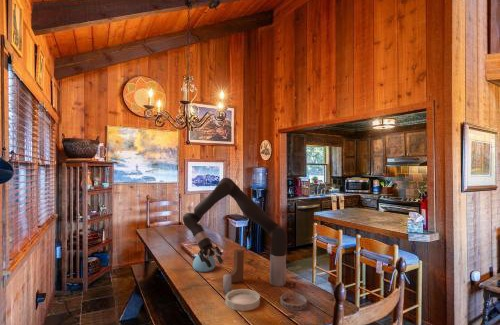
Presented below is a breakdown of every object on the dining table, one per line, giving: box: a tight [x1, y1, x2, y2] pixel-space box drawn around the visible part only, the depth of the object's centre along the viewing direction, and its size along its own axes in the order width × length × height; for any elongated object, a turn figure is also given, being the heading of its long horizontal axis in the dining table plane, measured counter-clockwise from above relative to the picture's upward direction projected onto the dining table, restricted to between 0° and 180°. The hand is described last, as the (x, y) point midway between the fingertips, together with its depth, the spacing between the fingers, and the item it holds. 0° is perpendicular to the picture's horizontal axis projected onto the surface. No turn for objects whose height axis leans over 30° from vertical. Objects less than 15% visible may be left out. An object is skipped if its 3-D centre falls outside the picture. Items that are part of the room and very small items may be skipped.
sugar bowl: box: [192, 254, 216, 273], centre depth 190 cm, size 15×15×12 cm
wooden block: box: [226, 248, 245, 284], centre depth 171 cm, size 9×4×18 cm, turn 119°
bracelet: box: [279, 292, 308, 311], centre depth 144 cm, size 14×14×3 cm
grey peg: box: [222, 273, 232, 295], centre depth 156 cm, size 4×4×9 cm
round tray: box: [224, 288, 261, 312], centre depth 145 cm, size 17×17×3 cm
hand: (216, 265), depth 162 cm, fingers open, 8 cm apart
